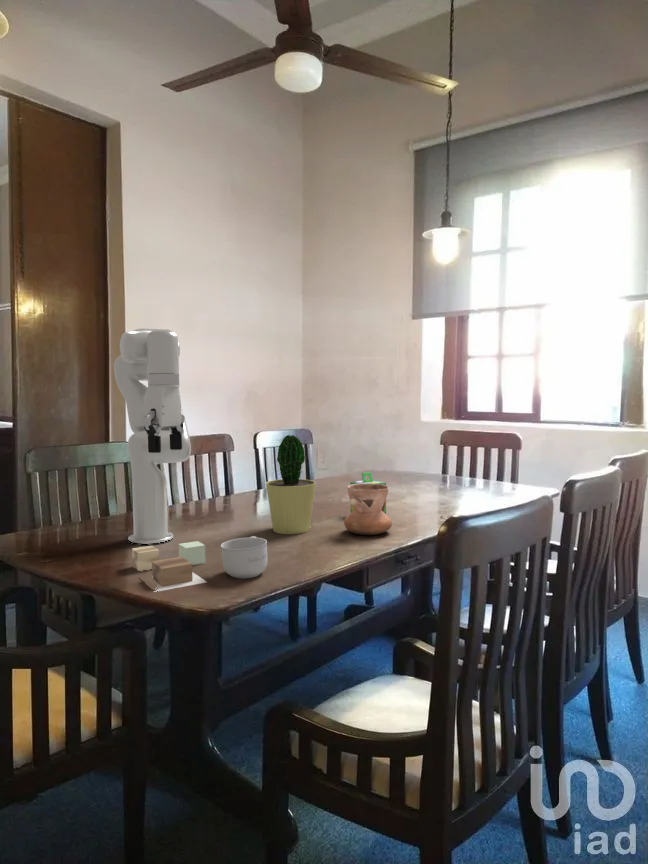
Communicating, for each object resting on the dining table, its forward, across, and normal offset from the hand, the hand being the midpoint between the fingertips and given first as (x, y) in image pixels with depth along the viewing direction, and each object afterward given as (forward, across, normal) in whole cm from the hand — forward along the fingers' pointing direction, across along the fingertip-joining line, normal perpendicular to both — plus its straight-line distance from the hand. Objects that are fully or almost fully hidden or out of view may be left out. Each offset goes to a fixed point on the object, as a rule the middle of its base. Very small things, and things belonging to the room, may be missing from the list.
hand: (165, 451), depth 152 cm
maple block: (+28, +5, -3) cm, 29 cm away
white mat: (+29, +12, +8) cm, 32 cm away
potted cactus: (+28, -44, +16) cm, 54 cm away
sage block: (+28, -2, +5) cm, 29 cm away
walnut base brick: (+28, +12, +8) cm, 32 cm away
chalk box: (+28, -72, +34) cm, 84 cm away
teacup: (+29, +1, +22) cm, 36 cm away
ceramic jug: (+28, -47, +40) cm, 68 cm away
